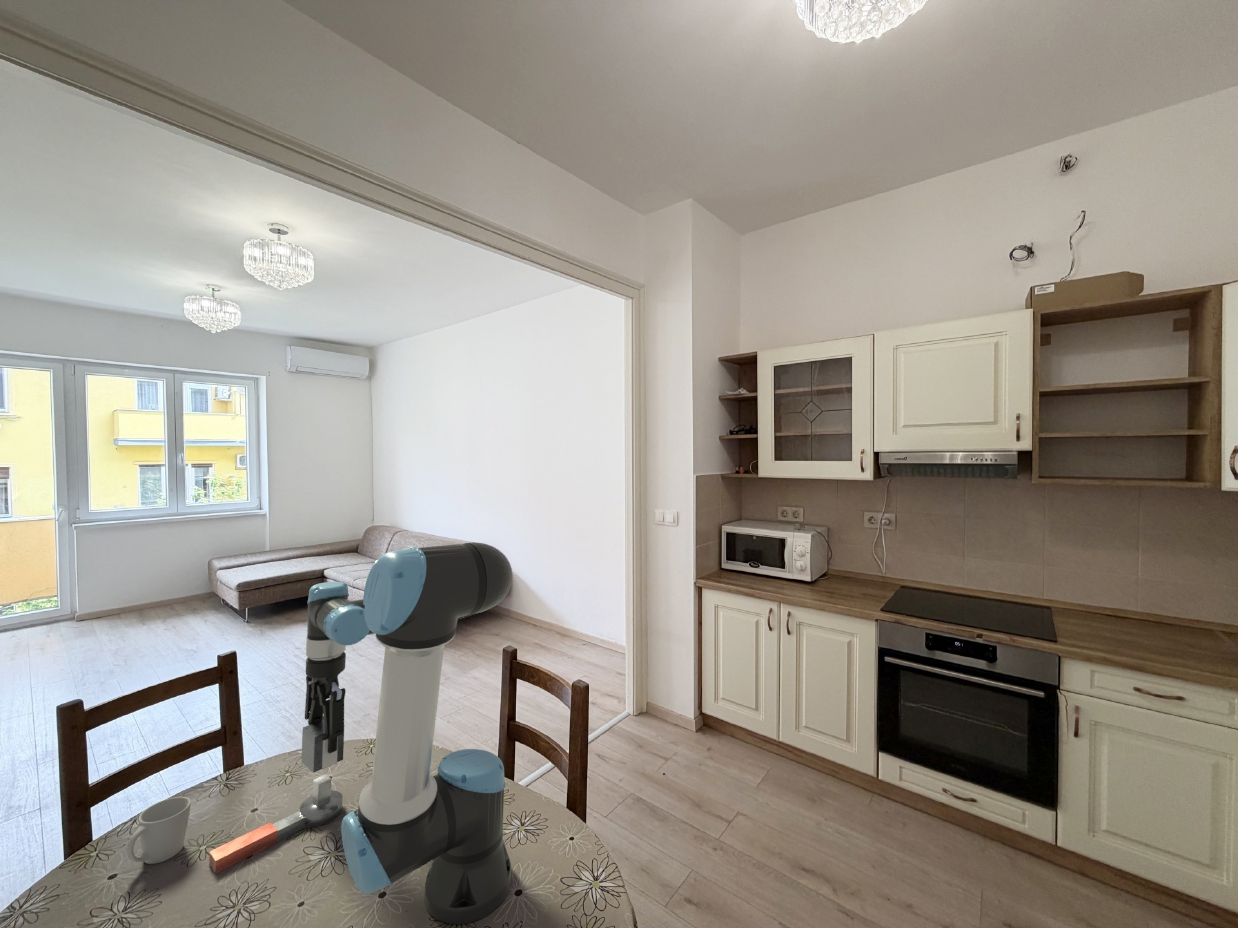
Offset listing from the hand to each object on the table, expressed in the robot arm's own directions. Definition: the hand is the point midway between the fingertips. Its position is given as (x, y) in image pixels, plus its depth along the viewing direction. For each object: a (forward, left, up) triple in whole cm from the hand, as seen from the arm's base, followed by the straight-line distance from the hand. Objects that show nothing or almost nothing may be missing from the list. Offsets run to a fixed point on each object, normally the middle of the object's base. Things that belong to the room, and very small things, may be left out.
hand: (322, 759), depth 108 cm
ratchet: (0, +8, -12) cm, 14 cm away
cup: (+11, +25, -12) cm, 29 cm away
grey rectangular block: (0, 0, 0) cm, 0 cm away
